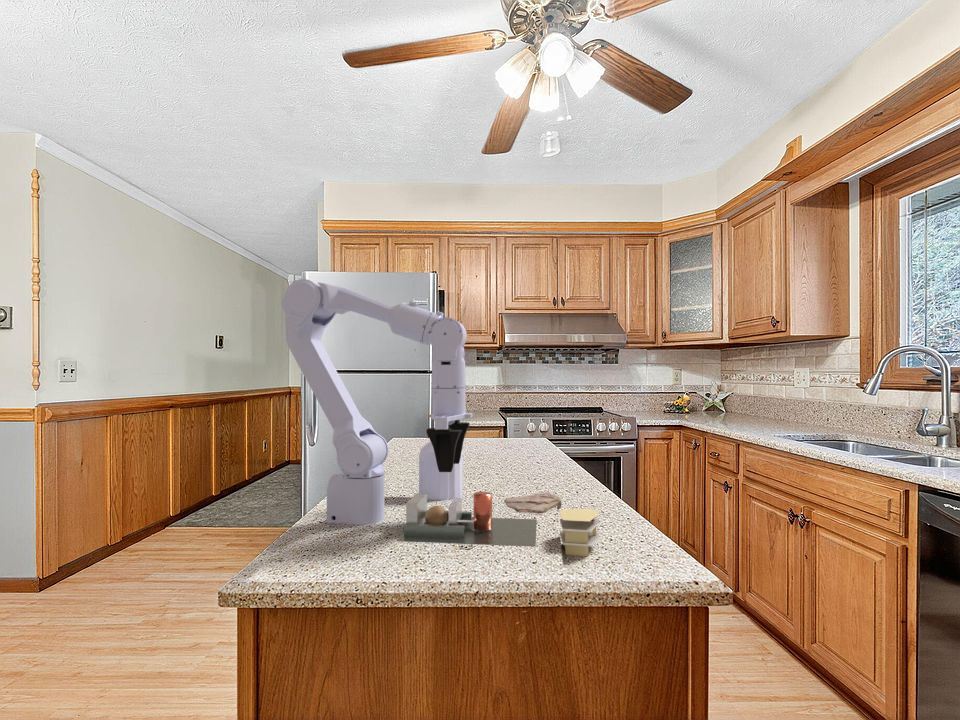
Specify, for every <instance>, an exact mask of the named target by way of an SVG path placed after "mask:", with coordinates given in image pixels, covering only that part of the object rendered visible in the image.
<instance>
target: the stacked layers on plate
mask: <svg viewBox="0 0 960 720" xmlns="http://www.w3.org/2000/svg"><path fill="white" fill-rule="evenodd" d="M559 513H560V515H561V518H560V519H559V522H560V526H561V529H562V531H560V532H559V537H560V540H561V542H562V547H563V546H564V547H563V548H564V549H565V551H564V552H565V554H569V555H568V556H576V555H578V556H579V557H589V547H591V546H593V544H594V543H595V542H596V541H597V540H598V539H599V538H600V533H599V532H597V526H598V525H599V524H600V519H597V518H596V517H597V516H598V515H599V514H600V511H598V510H595V509H591V508H575V509H574V508H569V509H568V508H567V509H566V508H565V509H561V510H560V511H559Z"/></svg>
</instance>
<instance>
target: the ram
mask: <svg viewBox="0 0 960 720" xmlns="http://www.w3.org/2000/svg"><path fill="white" fill-rule="evenodd" d="M462 503H463V497H462V498H454V499H452V500H451V503H450V504H449V506H448V511H449V525H460V526H465V528H468V529H475V530H479V531H487V530H491V529H492V518H493V493H492V492H490V491H476V492H474V493H473V517H474V520H460V518H461V517H462V512H463V504H462Z"/></svg>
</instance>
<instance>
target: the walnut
mask: <svg viewBox="0 0 960 720" xmlns="http://www.w3.org/2000/svg"><path fill="white" fill-rule="evenodd" d="M446 511H447V510H446V509H445V508H443V506H440V505H433V506H430V507H429V508H427V512H426V514H425V520H426V523H427V524H431V525H444V524H445V523H446V521H447V513H446Z"/></svg>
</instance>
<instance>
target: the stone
mask: <svg viewBox="0 0 960 720" xmlns="http://www.w3.org/2000/svg"><path fill="white" fill-rule="evenodd" d="M504 502H505V506H507V507H508V508H511V509H514V510H516V512H518V513H525V514H526V513H529V514H530V513H531V514H532V513H535V514H544V513H546V512H548V511H549V510H551V509H552V508H555V507H556V509H557V510H559V509H561V508H562V503H563V502H562V499H561V497H559V496H558V495H555V494H553V493H549V492H541V493H534V494H528V495H524V496H515V497H513V496H512V497H506V498H505V499H504Z"/></svg>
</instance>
